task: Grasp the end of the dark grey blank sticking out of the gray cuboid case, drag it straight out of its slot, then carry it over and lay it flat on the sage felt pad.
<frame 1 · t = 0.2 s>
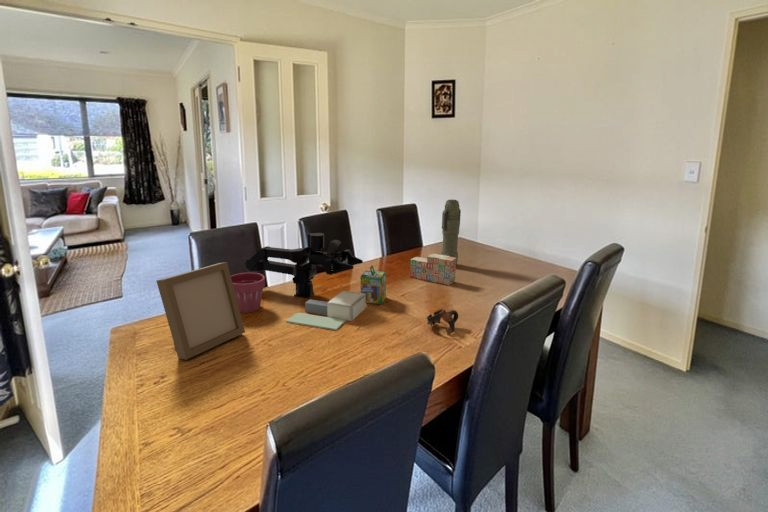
hand: (358, 264, 167), 16 cm above the table, tool horizontal, fingers open, 9 cm apart
grey blank: (326, 313, 162), on the table
stack of blocks: (432, 280, 202), on the table
felt pad: (316, 321, 154), on the table
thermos: (448, 265, 226), on the table
dark looped figurine: (443, 329, 149), on the table
photo frame: (203, 342, 138), on the table
gray cuboid case: (347, 312, 163), on the table
green product box: (373, 300, 175), on the table
plant pot: (248, 308, 165), on the table
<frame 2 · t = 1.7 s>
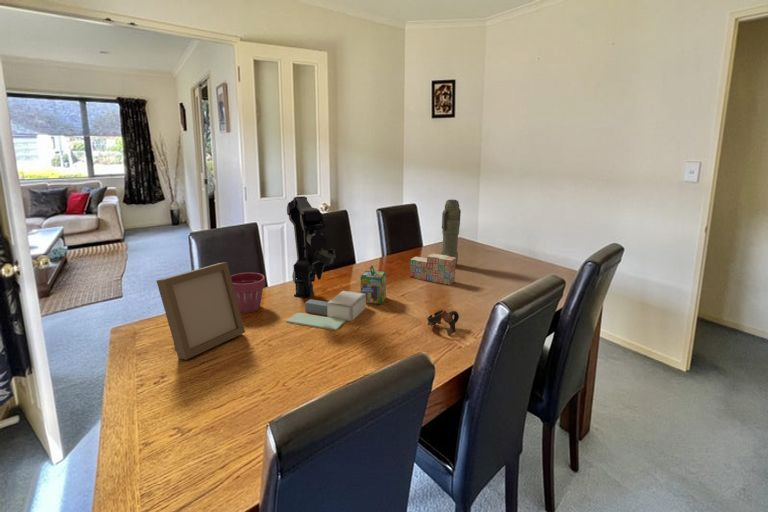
hand: (313, 282, 160), 11 cm above the table, tool pointing down, fingers open, 9 cm apart
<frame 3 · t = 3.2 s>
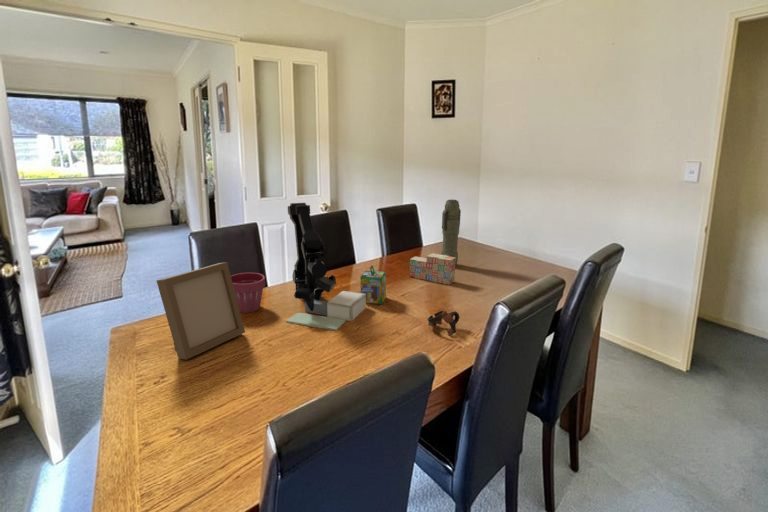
hand: (314, 308, 163), 1 cm above the table, tool pointing down, fingers closed on grey blank, 4 cm apart
grey blank: (326, 312, 162), on the table, touching gripper
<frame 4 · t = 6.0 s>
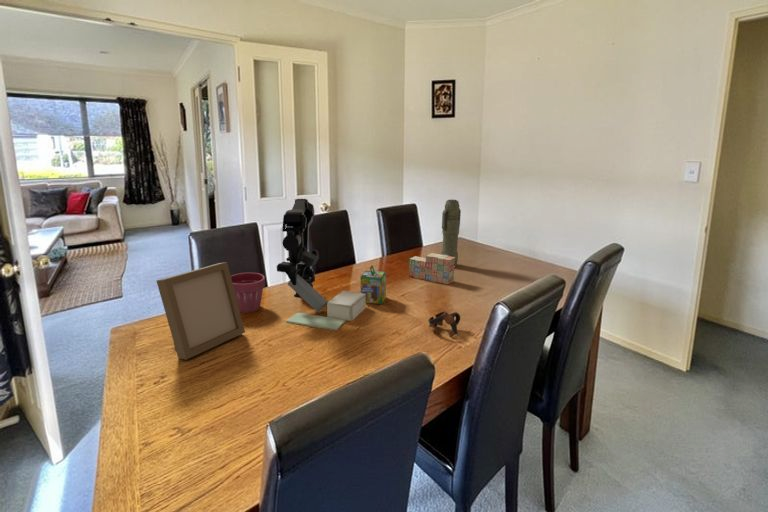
hand: (297, 283, 163), 10 cm above the table, tool pointing down, fingers closed on grey blank, 4 cm apart
grey blank: (304, 296, 163), point 6 cm above the table, tilted 37°, touching gripper
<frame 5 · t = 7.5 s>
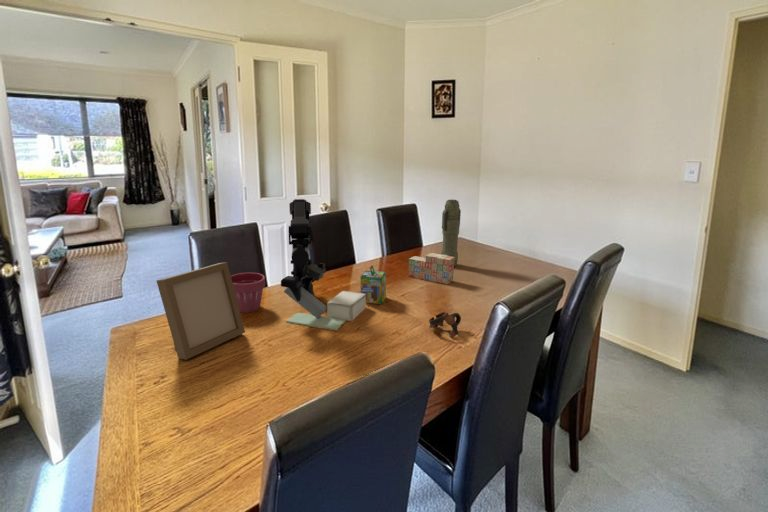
hand: (302, 298, 153), 8 cm above the table, tool pointing down, fingers closed on grey blank, 5 cm apart
grey blank: (302, 302, 155), point 6 cm above the table, tilted 44°, touching felt pad, gripper
when the fingers open (3 cm above the table, at t = 8.7 s): grey blank drops 2 cm, resting on felt pad.
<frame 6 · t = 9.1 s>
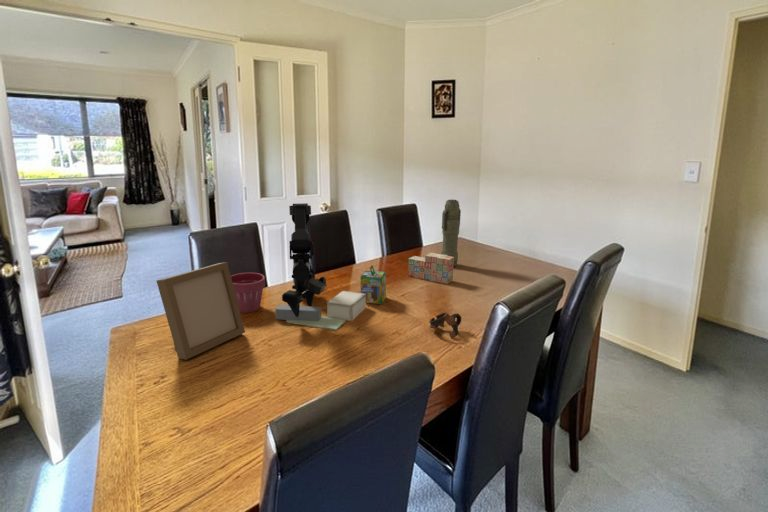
hand: (303, 311, 154), 3 cm above the table, tool pointing down, fingers open, 9 cm apart
grey blank: (298, 318, 155), point 1 cm above the table, touching felt pad
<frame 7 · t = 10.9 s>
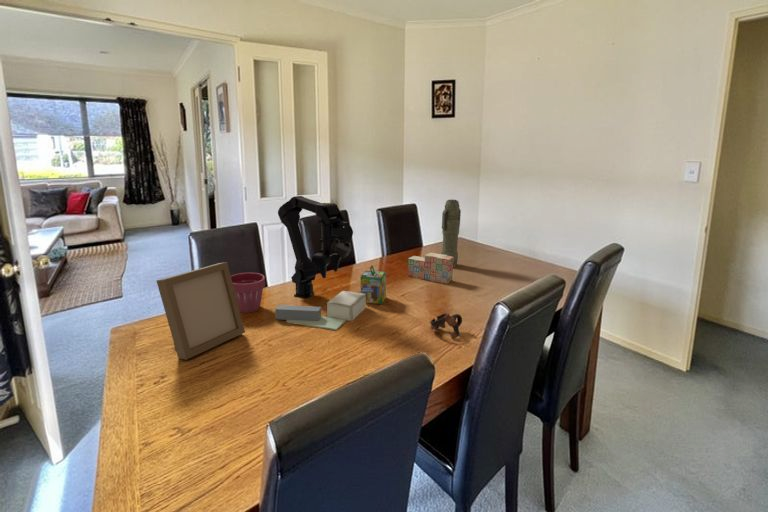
hand: (329, 274, 166), 13 cm above the table, tool pointing down, fingers open, 9 cm apart
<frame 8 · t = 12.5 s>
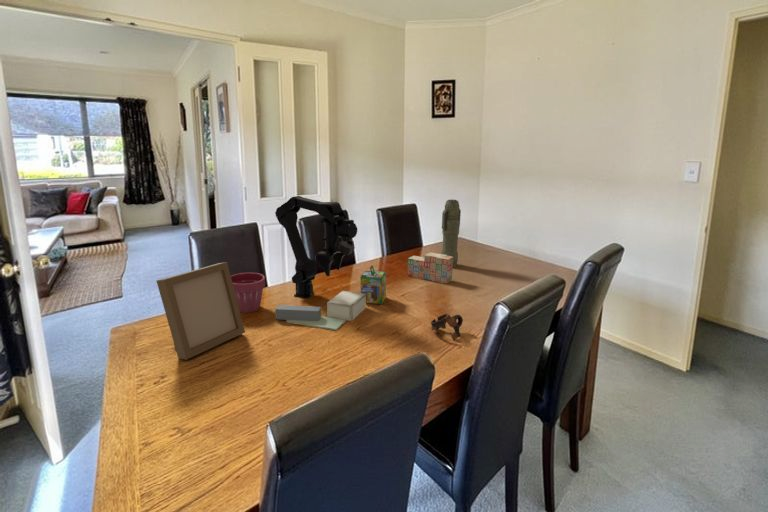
hand: (333, 272, 168), 13 cm above the table, tool pointing down, fingers open, 9 cm apart
at the end: grey blank inside the target area on the felt pad (6.9 cm from its centre), point 0.6 cm above the felt pad's base; grey blank tilted 0°; the gripper is holding nothing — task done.
